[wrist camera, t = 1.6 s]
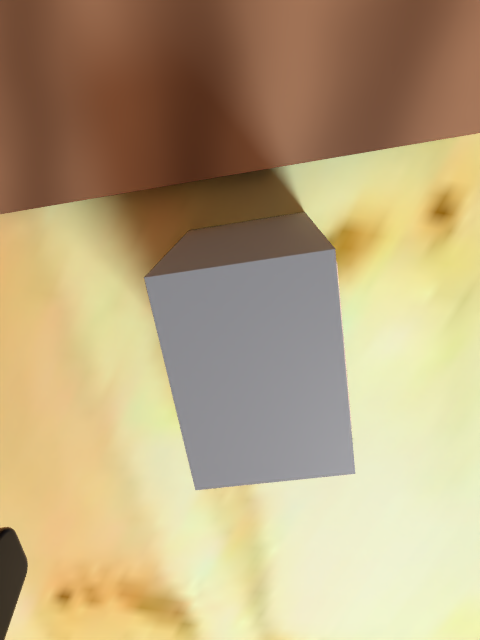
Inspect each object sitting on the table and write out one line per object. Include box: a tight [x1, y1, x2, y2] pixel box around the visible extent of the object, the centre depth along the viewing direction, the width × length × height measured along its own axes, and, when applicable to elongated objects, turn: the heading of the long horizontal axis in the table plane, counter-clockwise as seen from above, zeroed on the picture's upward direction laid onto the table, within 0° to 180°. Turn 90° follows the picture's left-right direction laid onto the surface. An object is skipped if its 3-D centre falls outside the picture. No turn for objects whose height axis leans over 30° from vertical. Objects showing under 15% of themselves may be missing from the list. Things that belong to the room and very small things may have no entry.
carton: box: [144, 212, 355, 490], centre depth 16 cm, size 5×7×8 cm
